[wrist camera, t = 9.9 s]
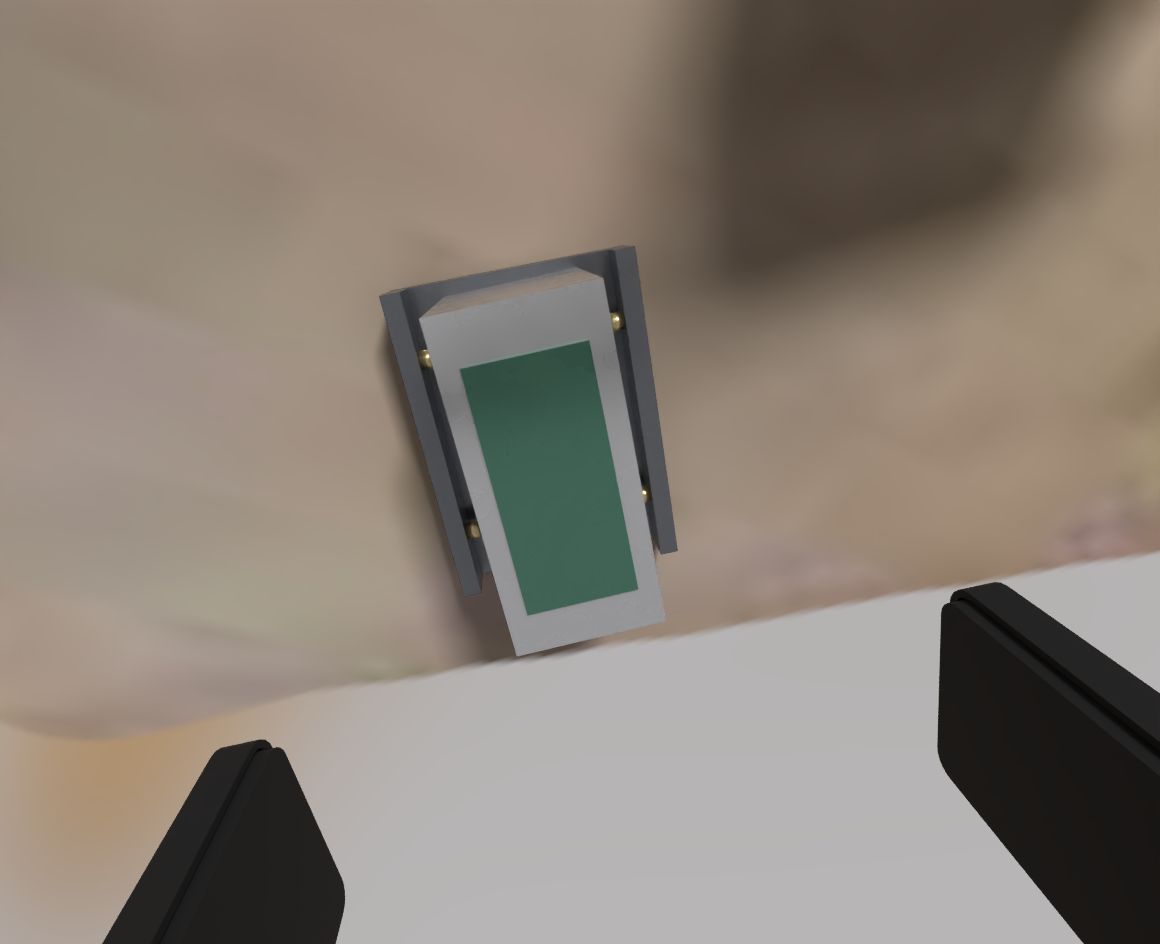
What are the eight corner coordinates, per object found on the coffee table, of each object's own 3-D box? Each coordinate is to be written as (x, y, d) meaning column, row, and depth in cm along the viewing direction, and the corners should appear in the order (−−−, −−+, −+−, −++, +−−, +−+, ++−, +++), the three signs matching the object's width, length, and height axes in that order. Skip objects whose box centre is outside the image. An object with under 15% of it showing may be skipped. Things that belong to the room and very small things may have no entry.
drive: (577, 267, 24) (604, 278, 17) (628, 530, 27) (667, 623, 21) (444, 296, 23) (418, 319, 17) (514, 556, 27) (516, 659, 21)
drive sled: (623, 245, 24) (634, 245, 22) (664, 526, 28) (677, 550, 26) (391, 290, 24) (378, 295, 22) (467, 567, 28) (464, 596, 26)
